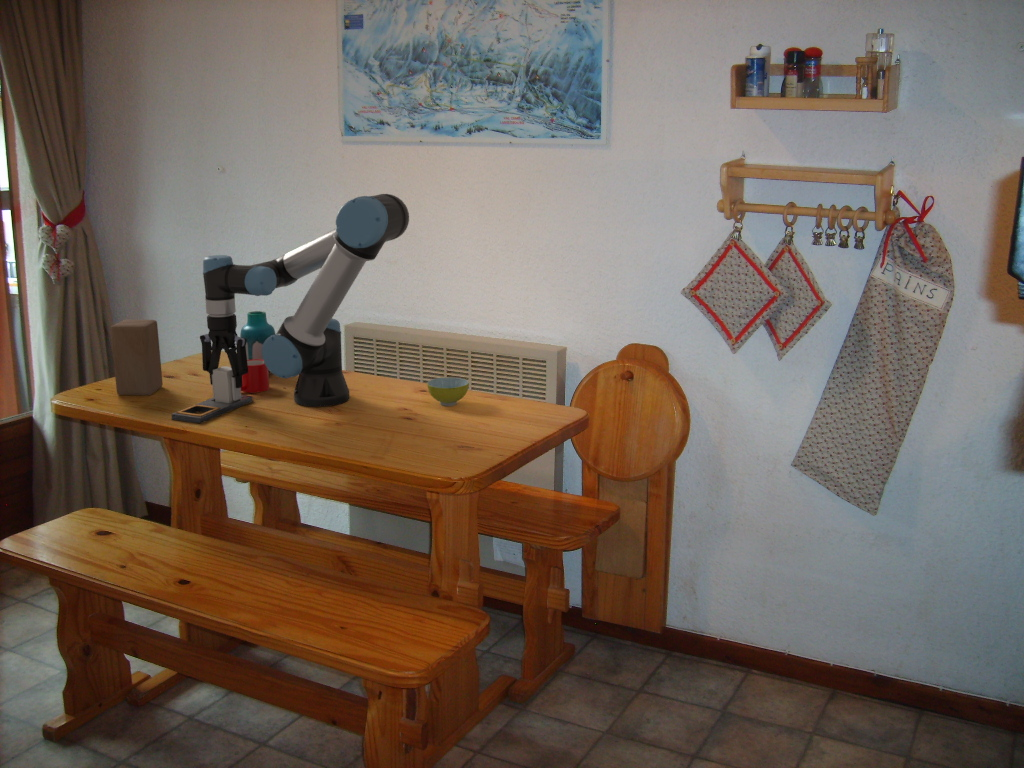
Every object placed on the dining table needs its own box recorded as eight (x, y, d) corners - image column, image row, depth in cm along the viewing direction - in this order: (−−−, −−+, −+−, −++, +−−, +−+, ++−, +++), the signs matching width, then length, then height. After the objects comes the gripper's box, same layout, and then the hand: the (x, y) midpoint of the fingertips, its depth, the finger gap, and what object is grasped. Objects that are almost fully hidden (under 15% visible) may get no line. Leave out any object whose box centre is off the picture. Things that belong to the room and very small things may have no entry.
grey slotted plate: (252, 401, 268) (252, 395, 267) (200, 423, 248) (199, 417, 248) (225, 397, 271) (225, 391, 271) (171, 419, 251) (171, 413, 251)
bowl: (420, 401, 269) (420, 380, 267) (457, 396, 274) (457, 375, 273) (438, 412, 259) (437, 389, 258) (476, 406, 265) (476, 384, 263)
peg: (240, 403, 266) (237, 367, 264) (229, 407, 262) (226, 371, 259) (226, 401, 268) (223, 366, 265) (215, 405, 264) (212, 370, 261)
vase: (285, 373, 297) (282, 311, 292) (259, 380, 289) (255, 317, 284) (260, 368, 303) (257, 307, 298) (234, 375, 294) (230, 313, 289)
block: (151, 396, 272) (144, 326, 267) (115, 395, 272) (108, 325, 267) (164, 386, 282) (158, 319, 276) (130, 386, 282) (123, 318, 276)
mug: (224, 393, 275) (222, 366, 273) (255, 383, 285) (253, 357, 283) (245, 397, 272) (243, 370, 270) (275, 387, 282) (273, 361, 280)
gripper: (259, 314, 258) (264, 398, 264) (201, 309, 265) (208, 390, 271) (241, 319, 252) (247, 405, 258) (183, 313, 258) (190, 397, 264)
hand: (227, 397), depth 264 cm, fingers open, 6 cm apart
